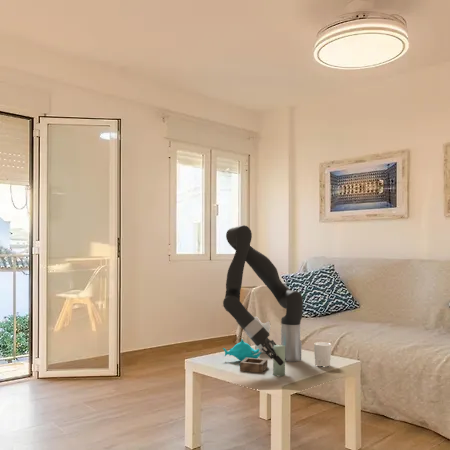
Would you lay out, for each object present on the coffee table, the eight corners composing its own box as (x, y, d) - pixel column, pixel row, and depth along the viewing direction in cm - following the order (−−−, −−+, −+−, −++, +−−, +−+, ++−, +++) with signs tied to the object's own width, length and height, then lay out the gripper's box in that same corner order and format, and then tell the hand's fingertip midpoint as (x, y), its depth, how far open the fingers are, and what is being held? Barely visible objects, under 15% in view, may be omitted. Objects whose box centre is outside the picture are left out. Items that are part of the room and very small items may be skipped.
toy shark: (260, 364, 221) (261, 341, 222) (222, 363, 222) (222, 340, 222) (260, 359, 231) (260, 337, 231) (222, 358, 232) (223, 336, 232)
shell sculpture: (271, 353, 244) (271, 318, 245) (255, 354, 242) (256, 318, 243) (266, 350, 252) (266, 315, 253) (251, 350, 250) (251, 316, 251)
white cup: (331, 364, 224) (331, 342, 224) (331, 368, 216) (331, 345, 217) (314, 362, 226) (314, 341, 226) (313, 366, 218) (313, 344, 219)
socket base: (240, 370, 210) (240, 362, 210) (246, 365, 219) (246, 357, 219) (262, 372, 207) (262, 364, 207) (267, 367, 216) (267, 359, 216)
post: (272, 375, 203) (272, 346, 203) (274, 372, 207) (274, 344, 208) (283, 376, 201) (284, 347, 202) (285, 373, 206) (286, 345, 206)
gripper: (258, 329, 201) (286, 360, 196) (266, 324, 214) (292, 353, 210) (246, 341, 202) (273, 372, 198) (254, 335, 216) (280, 364, 211)
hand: (283, 362), depth 204 cm, fingers closed on post, 5 cm apart
